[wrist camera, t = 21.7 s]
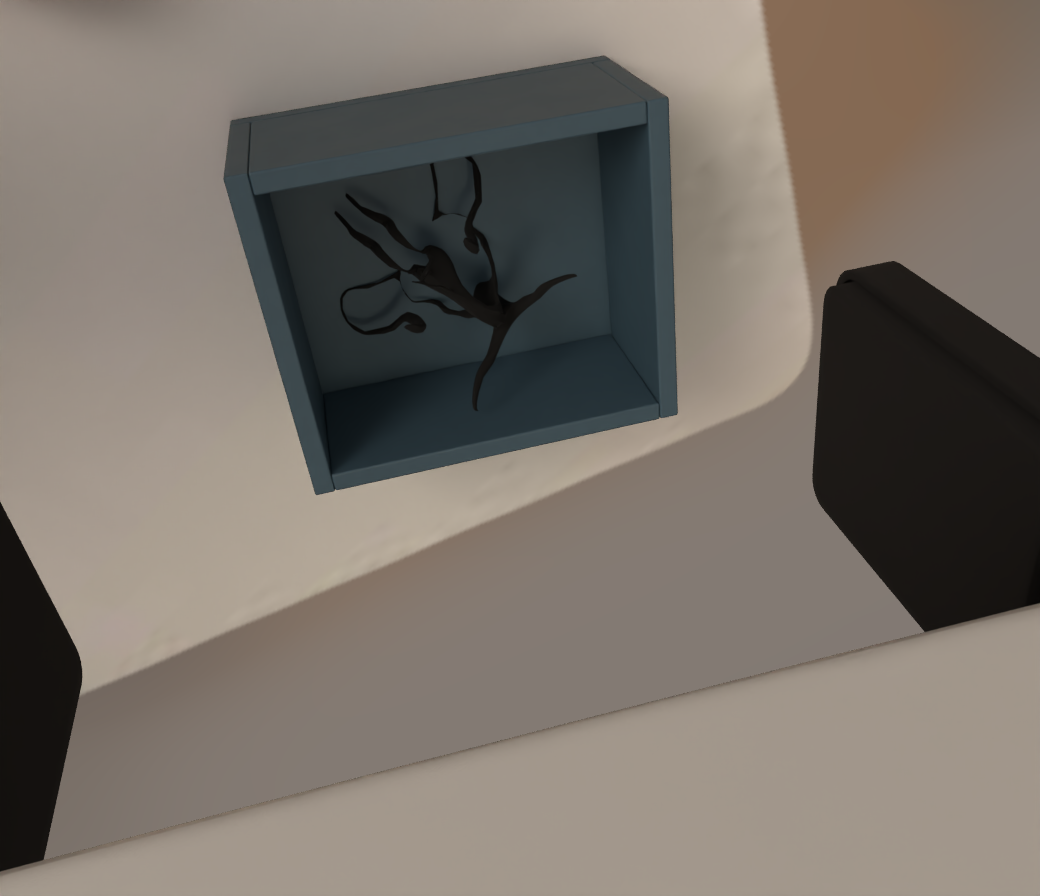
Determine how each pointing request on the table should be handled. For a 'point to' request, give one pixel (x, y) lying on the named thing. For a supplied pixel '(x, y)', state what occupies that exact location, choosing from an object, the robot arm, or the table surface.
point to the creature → (450, 280)
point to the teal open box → (463, 264)
